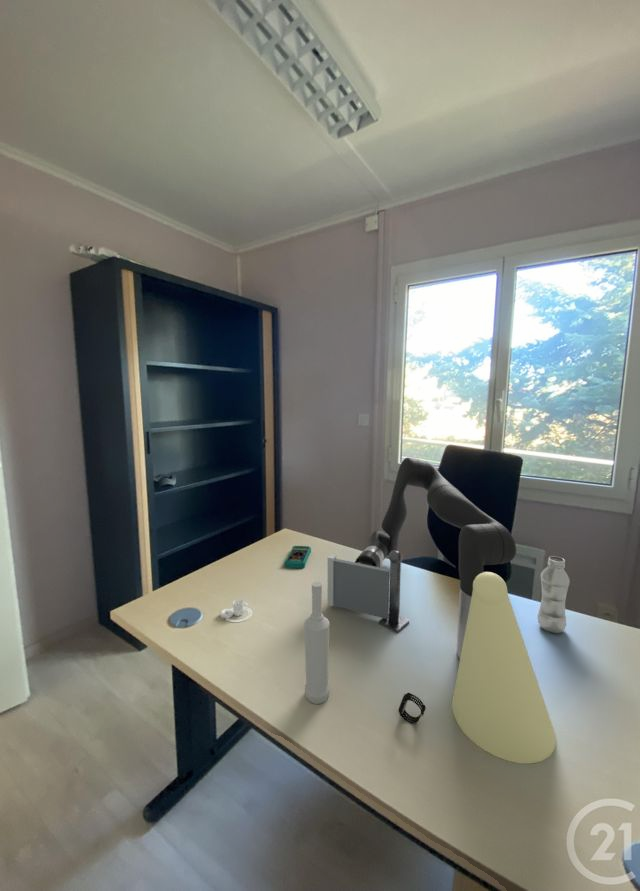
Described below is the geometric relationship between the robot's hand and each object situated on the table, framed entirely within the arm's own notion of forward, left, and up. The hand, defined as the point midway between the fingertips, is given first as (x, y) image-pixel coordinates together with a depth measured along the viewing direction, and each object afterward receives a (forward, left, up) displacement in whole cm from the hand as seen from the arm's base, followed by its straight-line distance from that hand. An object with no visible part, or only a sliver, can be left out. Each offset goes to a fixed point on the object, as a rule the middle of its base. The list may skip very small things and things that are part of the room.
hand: (351, 585), depth 108 cm
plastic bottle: (-11, -53, -8) cm, 55 cm away
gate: (-2, -2, -7) cm, 7 cm away
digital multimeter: (+35, +17, -9) cm, 40 cm away
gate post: (-7, -11, -8) cm, 15 cm away
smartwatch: (-38, -7, -8) cm, 39 cm away
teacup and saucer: (+2, +35, -9) cm, 36 cm away
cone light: (-40, -23, -8) cm, 47 cm away
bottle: (-31, +11, -8) cm, 33 cm away
